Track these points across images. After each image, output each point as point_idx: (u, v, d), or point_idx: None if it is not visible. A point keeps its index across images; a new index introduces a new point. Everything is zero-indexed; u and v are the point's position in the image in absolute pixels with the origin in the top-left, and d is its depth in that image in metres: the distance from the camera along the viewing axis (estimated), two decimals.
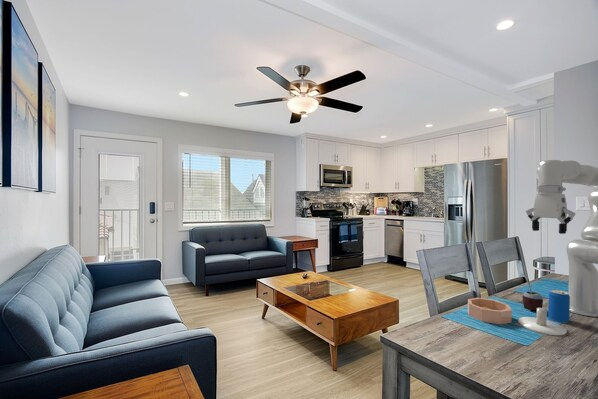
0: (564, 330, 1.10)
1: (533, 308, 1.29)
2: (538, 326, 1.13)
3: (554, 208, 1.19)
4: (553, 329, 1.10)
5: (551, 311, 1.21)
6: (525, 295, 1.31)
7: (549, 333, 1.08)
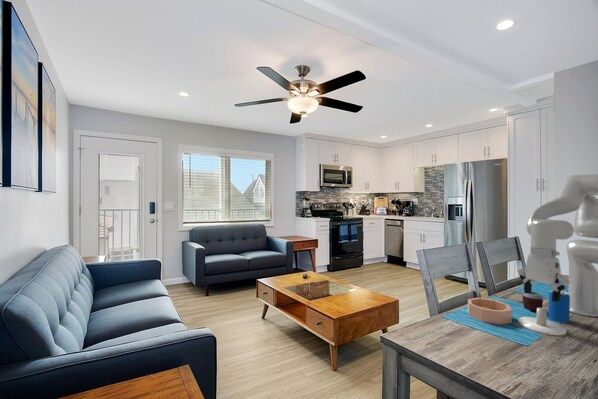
0: (564, 330, 1.10)
1: (533, 308, 1.29)
2: (538, 326, 1.13)
3: (547, 273, 1.10)
4: (553, 329, 1.10)
5: (551, 311, 1.21)
6: (525, 295, 1.31)
7: (549, 333, 1.08)
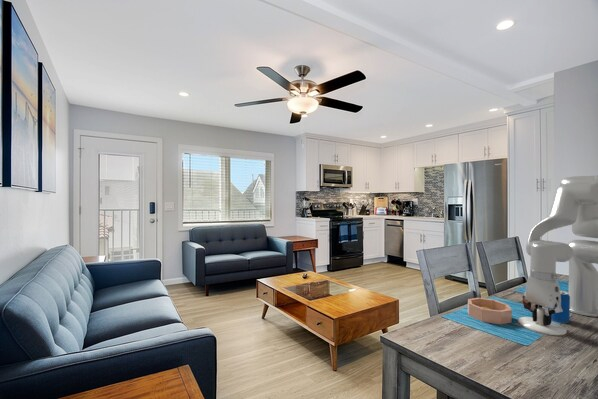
0: (564, 330, 1.10)
1: None
2: (538, 326, 1.13)
3: (547, 297, 1.11)
4: (553, 329, 1.10)
5: None
6: (525, 295, 1.31)
7: (549, 333, 1.08)
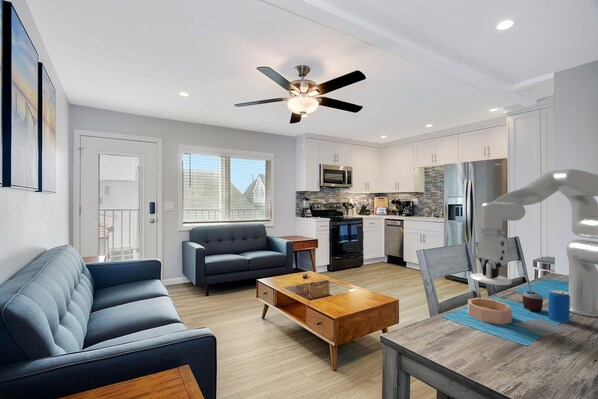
0: (509, 281, 1.19)
1: (533, 308, 1.29)
2: (486, 278, 1.22)
3: (494, 251, 1.20)
4: (499, 280, 1.20)
5: (551, 311, 1.21)
6: (525, 295, 1.31)
7: (494, 283, 1.17)
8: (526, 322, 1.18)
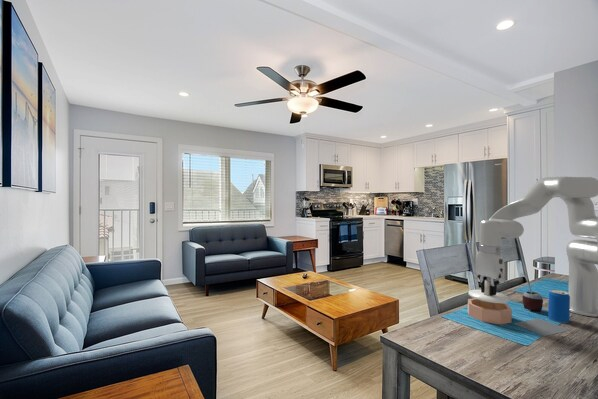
0: (507, 299, 1.19)
1: (533, 308, 1.29)
2: (485, 296, 1.22)
3: (492, 269, 1.20)
4: (497, 298, 1.20)
5: (551, 311, 1.21)
6: (525, 295, 1.31)
7: (492, 301, 1.17)
8: (526, 322, 1.18)
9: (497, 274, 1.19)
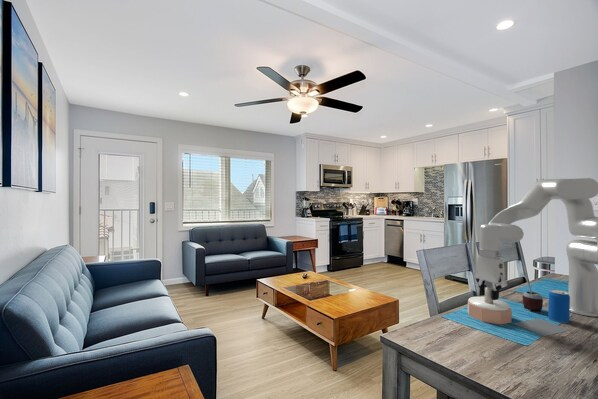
0: (507, 306, 1.19)
1: (533, 308, 1.29)
2: (485, 303, 1.22)
3: (492, 273, 1.20)
4: (498, 306, 1.20)
5: (551, 311, 1.21)
6: (525, 295, 1.31)
7: (493, 309, 1.17)
8: (526, 322, 1.18)
9: (497, 278, 1.19)
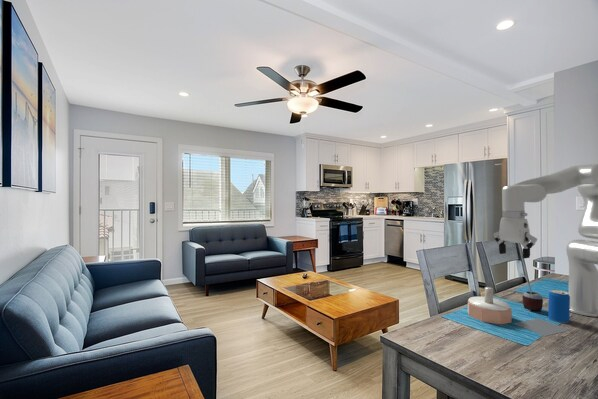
0: (507, 306, 1.19)
1: (533, 308, 1.29)
2: (485, 303, 1.22)
3: (517, 233, 1.21)
4: (498, 306, 1.20)
5: (551, 311, 1.21)
6: (525, 295, 1.31)
7: (493, 309, 1.17)
8: (526, 322, 1.18)
9: (522, 238, 1.19)
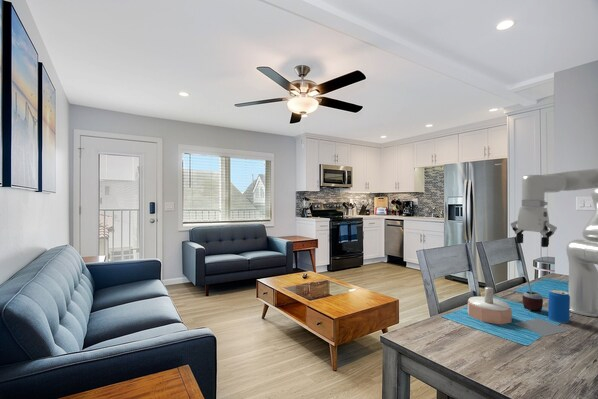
0: (507, 306, 1.19)
1: (533, 308, 1.29)
2: (485, 303, 1.22)
3: (536, 222, 1.21)
4: (498, 306, 1.20)
5: (551, 311, 1.21)
6: (525, 295, 1.31)
7: (493, 309, 1.17)
8: (526, 322, 1.18)
9: (542, 227, 1.20)
